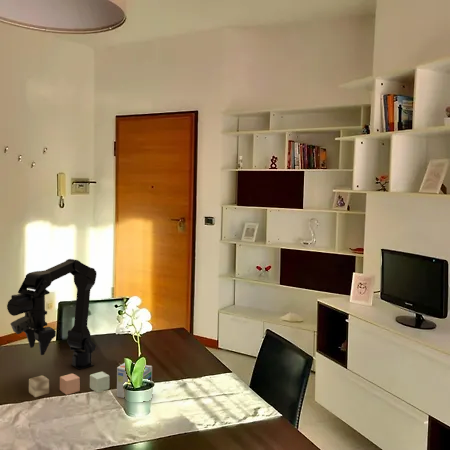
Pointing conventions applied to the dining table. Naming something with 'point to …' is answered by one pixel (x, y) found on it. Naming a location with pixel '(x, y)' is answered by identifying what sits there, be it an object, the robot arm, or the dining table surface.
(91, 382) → the sage block
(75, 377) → the terracotta block
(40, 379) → the birch block
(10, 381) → the dining table surface
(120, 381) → the light bulb box
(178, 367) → the dining table surface
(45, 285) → the robot arm
